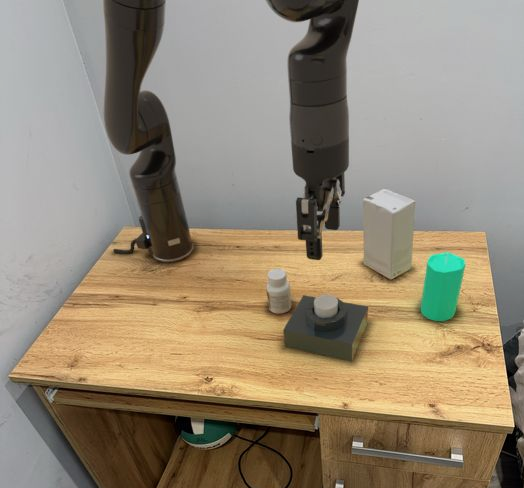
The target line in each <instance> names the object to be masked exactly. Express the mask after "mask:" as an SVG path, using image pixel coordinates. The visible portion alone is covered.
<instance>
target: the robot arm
mask: <svg viewBox="0 0 524 488" xmlns="http://www.w3.org/2000/svg"><path fill="white" fill-rule="evenodd" d="M265 2H266V4H267V5H268V7H269V8H270V10H271V11H272V12H273V13H274V14H275V15H277V16H278V17H280V18H281V19H283V20H285V21H287V22H290V23H303V22H307V21H309V22H308V26H307V27H308V28H307V31H306V34H305V35H304V36H303V38H301V40H299V41H298V42H297V43H296V44H294V46H292V47H291V49H290V50H289V52H288V54H287V60H286V61H287V62H286V63H287V65H286V66H287V81H288V82H287V83H288V93H289V94H288V95H289V115H288V117H289V134H290V147H291V159H292V170H293V173H294V174H295V175H296V176H297V177H298V178H300V179H302V180H303V181H304V182H305V185H304V188H303V193H302V195H303V196H302V197H298V196H297V197H296V199H295V210H296V211H295V212H296V230H297V240H299V241H305V249H306V250H305V252H306V258H307V259H308V260H313V261H321V260H322V258H323V255H324V254H323V238H322V237H323V228H325V229H326V230H332V231H337V230H339V228H340V226H341V221H340V220H341V216H340V213H341V212H340V211H341V210H340V209H341V208H340V207H341V205H342V202H343V201H342V197H344V196H345V194H346V188H345V186H346V185H345V184H346V183H345V172H346V171H347V170H348V168H349V165H350V111H349V103H348V64H347V62H348V61H347V58H348V53H349V48H350V44H351V41H352V36H353V33H354V32H353V31H354V27H355V22H356V16H357V13H358V8H359V2H360V0H265ZM166 3H167V0H102V6H103V7H102V9H103V21H104V37H105V38H104V40H105V41H104V42H105V43H104V44H105V78H104V80H105V81H104V96H103V123H104V129H105V133H106V134H107V138H108V141H109V142H110V144H111V145H112V147H113V148H114V149H115V150H116V151H117V152H118V153H120V154H122V155H125V156H126V155H128V156H130V155H134V154H138V153H139V154H138V156H137V158H136V160H135V161H134V162H133V163H132V165H131V166H130V168H129V173H128V174H129V180H130V183H131V186H132V189H133V193H134V196H135V198H136V199H135V200H136V202H137V206H138V209H139V211H140V216H139V217H138V222H139V225H140V228H141V231H142V232H141V234H139V235H138V236H137V237H136V238H134V239H132V240H131V242H130V248H129V249H127V250H124V249H120V248H119V249H118V248H114V249H113V253H114V254H115V253H116V254H122V255H129V254H131V253H133V252H134V251H135V244H136V247H137V249H140V250H147V252H148V254H149V257H153V258H154V260H156V262H157V261H158V262H161V263H176V262H180V261H182V260H184V259H186V258H188V257H189V256H190V255H191V254H192V253H193V251H194V248H195V247H194V243H193V241H192V236H191V232H190V227H189V223H188V219H187V215H186V210H185V206H184V201H183V197H182V193H181V188H180V185H179V181H178V177H177V172H176V164H177V156H176V151H175V146H174V145H175V144H174V141H173V140H174V139H173V135H172V127H171V124H170V119H169V115H168V113H167V109H166V107H165V105H164V104H163V102H162V100H161V99H160V98H159V96H157V95H156V93H154V92H152V91H150V90H141V89H142V84H143V82H144V79H145V77H146V74H147V73H148V70H149V68H150V66H151V64H152V62H153V59H154V58H155V56H156V53H157V51H158V49H159V47H160V45H161V41H162V39H163V35H164V30H165V23H166V6H167V5H166ZM319 212H320V214H318V213H319Z"/></svg>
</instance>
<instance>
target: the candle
mask: <svg viewBox="0 0 524 488" xmlns="http://www.w3.org/2000/svg"><path fill="white" fill-rule="evenodd" d="M465 268H466V261H465V259H464V258H463V257H461V256H458V255H456V254H454V253H451V252H449V251H446V252H440V253H433V254H431V255H429V257H428V259H427V260H426V268H425V275H424V282H423V289H422V295H421V300H420V312H421V315H423V317H425V318H426V319H429V320H431V321H434V322H445V321H448V320H450V319H452V318H453V317H454V316H455V314H456V311H457V305H458V302H459V297H460V292H461V288H462V282H463V279H464V274H465Z"/></svg>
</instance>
